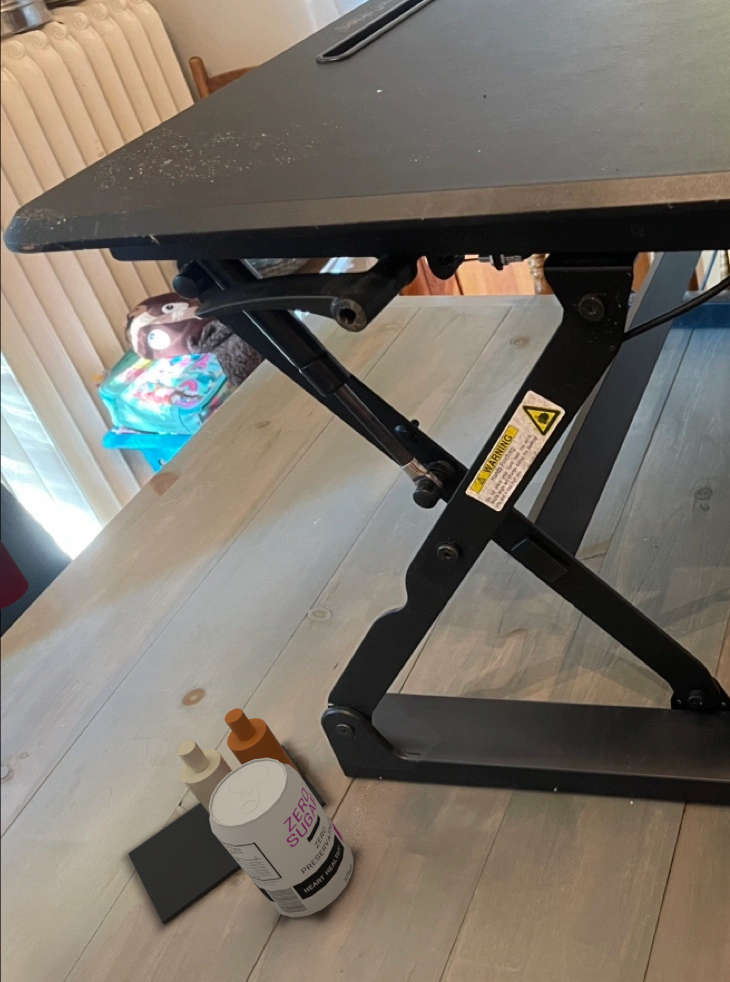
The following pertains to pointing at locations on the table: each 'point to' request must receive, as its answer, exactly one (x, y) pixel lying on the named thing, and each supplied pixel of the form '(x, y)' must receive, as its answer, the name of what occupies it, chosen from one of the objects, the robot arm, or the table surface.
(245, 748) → the amber bottle
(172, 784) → the table surface
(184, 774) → the cream bottle
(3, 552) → the cup
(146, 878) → the mat
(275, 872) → the supplement can
